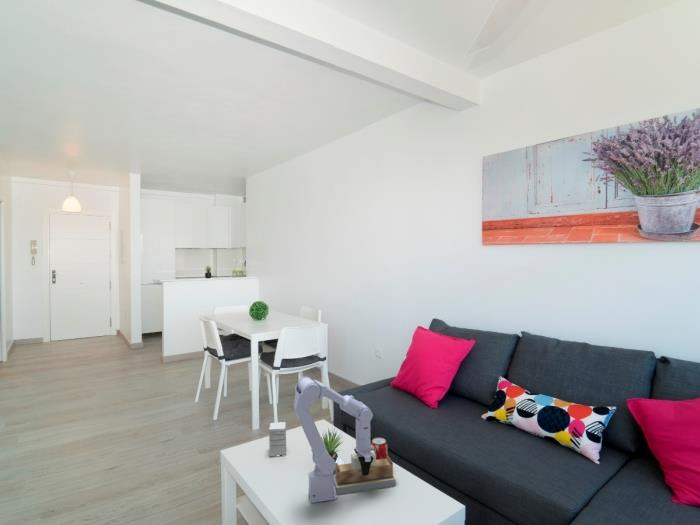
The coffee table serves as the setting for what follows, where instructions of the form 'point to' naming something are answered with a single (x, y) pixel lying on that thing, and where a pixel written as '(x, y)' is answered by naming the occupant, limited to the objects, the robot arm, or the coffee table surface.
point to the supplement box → (277, 438)
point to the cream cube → (373, 458)
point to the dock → (364, 485)
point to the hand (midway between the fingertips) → (363, 471)
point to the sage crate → (355, 461)
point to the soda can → (380, 448)
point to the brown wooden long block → (348, 474)
